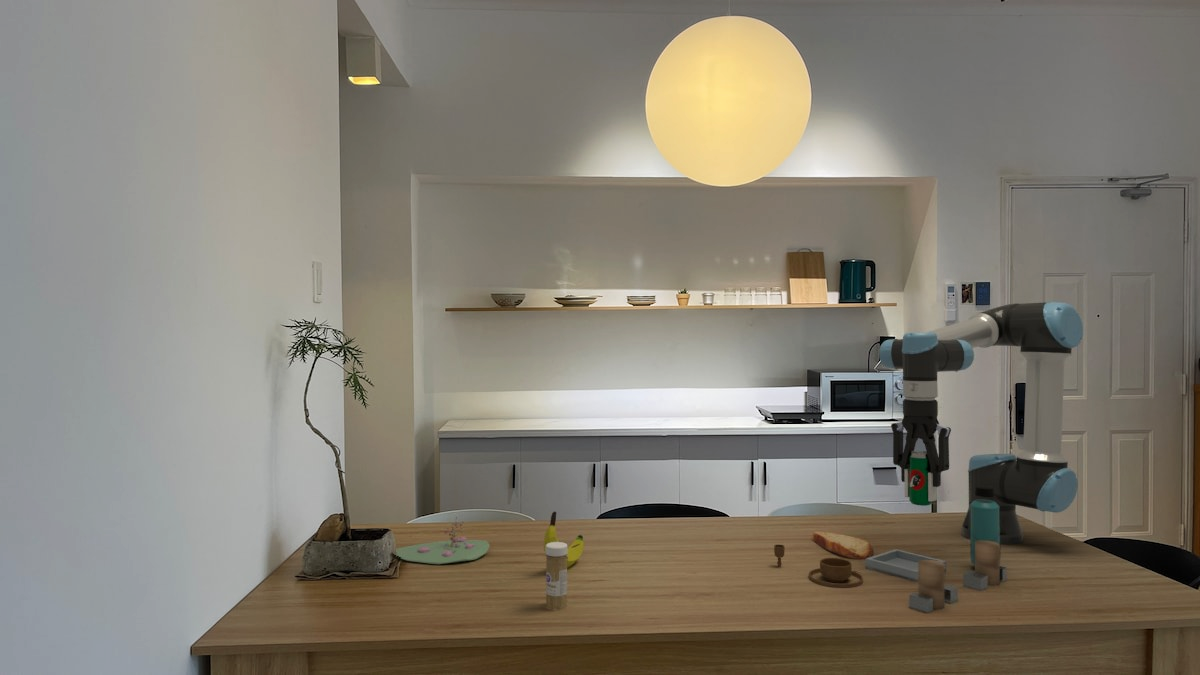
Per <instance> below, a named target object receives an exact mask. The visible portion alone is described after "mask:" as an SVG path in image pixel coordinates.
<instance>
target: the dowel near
mask: <svg viewBox="0 0 1200 675" xmlns="http://www.w3.org/2000/svg"><path fill="white" fill-rule="evenodd" d="M917 583H918V584H917V585H918V586H917V587H918V590H917V593H918V594H921V595H925V596H928V597H932V598H933V610H943V609H944V608H945V602H944V584H945V572H944V563H942V562H939V561H935V560H920V561H918V582H917Z"/></svg>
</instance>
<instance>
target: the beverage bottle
mask: <svg viewBox="0 0 1200 675" xmlns="http://www.w3.org/2000/svg"><path fill="white" fill-rule="evenodd" d="M975 495H976V496H981V497H994V489H993V488H992V487H989V486H976V489H975ZM970 506H971V535H970V536H971V540H970V539H969V540H970V543H969V546H970V553H969V555H970V557H969V558H970V561H971V564H972V565H974V566H975V541H979V540H985V541H992V542H996V543H998V544H1000V542H1001V540H1000V526H999V505H998V504H997V503H996V502H994V501H992V500H986V499H977V500H975V501H973V502H972V503H971V504H970ZM1000 545H1001V544H1000ZM1001 546H1002V545H1001ZM1001 546H1000V561H1001V559H1002V558H1001V556H1002V554H1001V552H1002V551H1001V550H1002V549H1001V548H1002V547H1001Z"/></svg>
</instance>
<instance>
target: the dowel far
mask: <svg viewBox="0 0 1200 675" xmlns="http://www.w3.org/2000/svg"><path fill="white" fill-rule="evenodd" d="M1000 559H1001V558H1000V544H998V543H996V542H992V541H985V540H979V541H975V565H974V572H976V573H980V574H984V575H988V586H995V587H996V586H999V585H1000V582H1001V581H1000V566H1001V565H1000V564H1001V560H1000Z"/></svg>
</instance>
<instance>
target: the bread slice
mask: <svg viewBox="0 0 1200 675" xmlns="http://www.w3.org/2000/svg"><path fill="white" fill-rule="evenodd" d="M811 540H812V541H813V542H814V543H815V544H817V545H818V546H820V547H821V548H823V549H825V550H826V551H829V552H830V553H833V554H834V555H838V556H841V557H843V558H847V559H852V560H859V561H863V560H866V558H869V557H872V556H874V554H875V553H874V549H873V546H872V544H871V543H869V542H868V541H867V540H865V539H862V538H858V537H853V536H851V535H850V536H849V535H846V534H845V535H844V534H842V533H840V534H839V533H834V532H827V531H814V532H813V534H812V536H811Z"/></svg>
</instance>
